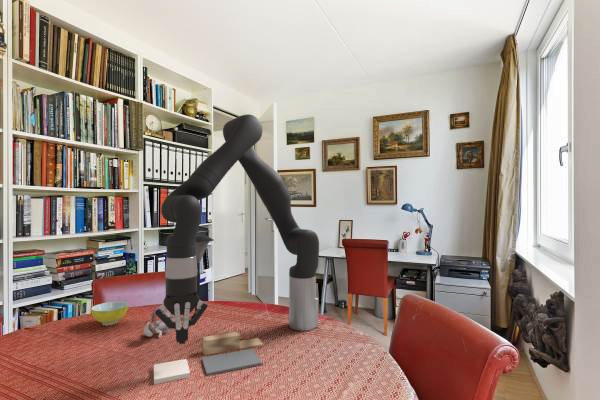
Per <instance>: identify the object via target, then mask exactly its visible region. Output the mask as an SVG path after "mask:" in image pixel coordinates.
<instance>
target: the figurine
mask: <svg viewBox="0 0 600 400" xmlns="http://www.w3.org/2000/svg"><path fill="white" fill-rule="evenodd" d="M157 307H158V306H156V307H155V308H154V309H152V313H151V314H150V315H149V316H150V319H151V320H150V322H149V321H148V322H147V323H146V325H145V326H144V328H143V334H142V337H144V338H146V337H152V336H153V335H154V334H158V338H159V339H161V338H162V337H163V336H162V333H163V334H167V333H168V332H170V331H171V330H172V329H169V328H168V327H167V326H166V325H165V324H164V322H163V321H162V320H161V319H160V320H156V319H157V317H158V316H157V315H156V314H155V309H156V308H157ZM165 310H166V313H165V314H166V315H167V316H168V317H169V318H170V319H171V320H172V321H173V322H175V318H174V317H175V316H174V315H172V314H171V313H170V312H169V310H168V309H165Z"/></svg>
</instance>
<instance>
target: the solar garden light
mask: <svg viewBox="0 0 600 400" xmlns="http://www.w3.org/2000/svg"><path fill="white" fill-rule="evenodd" d="M213 241H215V239H213V238H211V237H210V236H208V235H205V234H197V237H196V261H197V270H198V272H197V294H198V296H199V300H201V262H202V259H203V257H204V254H205V251H206V250H207V247H208V245H209V243H210V242H213ZM197 305H198V304H197ZM197 305H196V306H195V308H194V313H195V312H196V310H197Z"/></svg>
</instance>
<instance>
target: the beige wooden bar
mask: <svg viewBox="0 0 600 400" xmlns="http://www.w3.org/2000/svg"><path fill="white" fill-rule="evenodd" d="M263 346H264V342H262V341H261V340H260V338H258V337H255V338H250V339H244V340H241V335H240V333H239V331H233V332H226V333H219V334H215V335H208V336H202V353H203V356H210V355H213V354H214V355H215V354H219V353H225V352H230V351H235V350H239V351H243V350H248V349H253V348H258V347H259V348H260V347H263Z"/></svg>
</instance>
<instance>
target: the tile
mask: <svg viewBox="0 0 600 400" xmlns="http://www.w3.org/2000/svg"><path fill="white" fill-rule="evenodd" d="M188 378H189V379H190V378H191V372H190V367H189V362H188V359H187V358H184V359H178V360H173V361H168V362H167V361H166V362H161V363H155V364H153V385H158V384H164V383H169V382H173V381H178V380H184V379H188Z"/></svg>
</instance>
